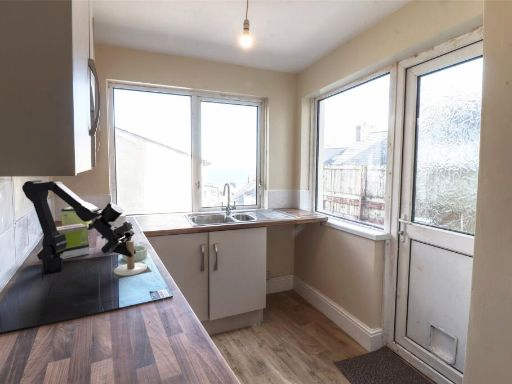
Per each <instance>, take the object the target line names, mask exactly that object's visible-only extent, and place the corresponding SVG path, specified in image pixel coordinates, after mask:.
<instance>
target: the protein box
mask: <svg viewBox="0 0 512 384" xmlns="http://www.w3.org/2000/svg"><path fill="white" fill-rule="evenodd" d="M60 211H61V212H60V213H61V225H62V226H68V225H75V224H84V225H86V226H87V229H88V227H89V225H88V224H89V223H93V220H91V221H88V222H84V221H82V220H81V219H80V218H79V217H78V216H77V215H76V213H75V210H74V209H73V208H72V207H71V206H67V207H64V208H61V210H60Z"/></svg>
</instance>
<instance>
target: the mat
mask: <svg viewBox="0 0 512 384" xmlns="http://www.w3.org/2000/svg"><path fill="white" fill-rule="evenodd" d="M141 263H143V264H146V262H145V261H142V262H141ZM117 267H118V266H117ZM117 267H111V268H110V270H111V272H112V274H113V277H114V278H115V280H119V279H123V278H128V277H133V276H138V275H142V274H147V273H151V272H153V271H152V270H151V268H150V267H149V266H148V265H147V270H146V271H144V272H142V273H139V274H136V275H130V276H119V275H116V274H115V273H114V270H115V269H116V268H117Z"/></svg>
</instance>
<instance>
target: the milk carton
mask: <svg viewBox="0 0 512 384" xmlns="http://www.w3.org/2000/svg"><path fill="white" fill-rule="evenodd" d="M126 221H127V215H126V214H124V213H122V214H121V215H120V216H119V217H118V218H117V220H116V221H115V222H110V223H111V224H112V225H113V226H118V227H120V226H122V225H123V223H124V222H126ZM110 250H111V251H113V249H112V248H111V249H110Z"/></svg>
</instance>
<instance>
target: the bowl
mask: <svg viewBox="0 0 512 384" xmlns="http://www.w3.org/2000/svg"><path fill="white" fill-rule="evenodd" d="M134 250H135V251H136V254H135V255H134V261H136V262H137V261H141V260H144V259H146V258H147V256H148V247H147V246H145V245H134ZM121 259H122V260H123V261H125V262H127V256H125V255H122V254H121Z"/></svg>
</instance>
